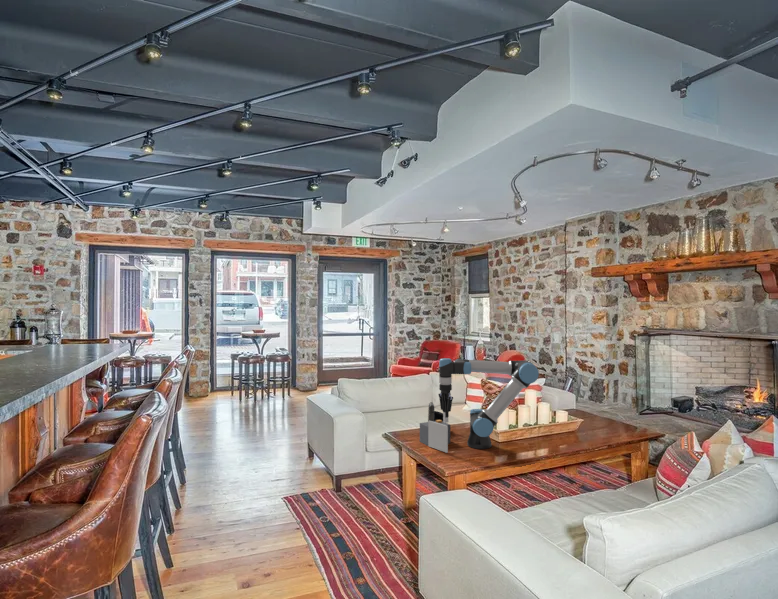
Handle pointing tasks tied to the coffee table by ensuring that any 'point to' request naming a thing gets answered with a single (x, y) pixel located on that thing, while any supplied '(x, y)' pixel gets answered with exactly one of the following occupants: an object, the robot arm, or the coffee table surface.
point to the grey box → (425, 431)
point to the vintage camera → (434, 413)
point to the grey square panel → (438, 436)
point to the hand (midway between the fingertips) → (445, 422)
